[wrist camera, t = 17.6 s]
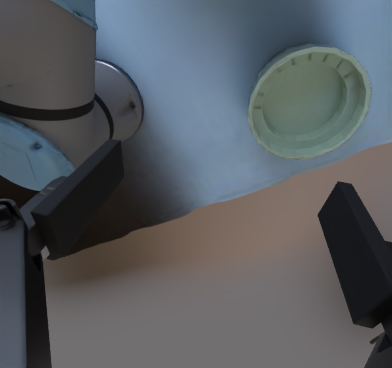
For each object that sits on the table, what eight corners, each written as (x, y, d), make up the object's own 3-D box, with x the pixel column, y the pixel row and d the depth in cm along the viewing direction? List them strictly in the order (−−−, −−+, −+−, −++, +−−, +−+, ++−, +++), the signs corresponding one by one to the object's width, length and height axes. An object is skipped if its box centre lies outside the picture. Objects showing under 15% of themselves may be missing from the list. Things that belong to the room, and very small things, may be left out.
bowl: (229, 103, 41) (226, 114, 37) (311, 14, 32) (320, 15, 27) (291, 160, 45) (294, 176, 41) (379, 95, 36) (396, 107, 31)
